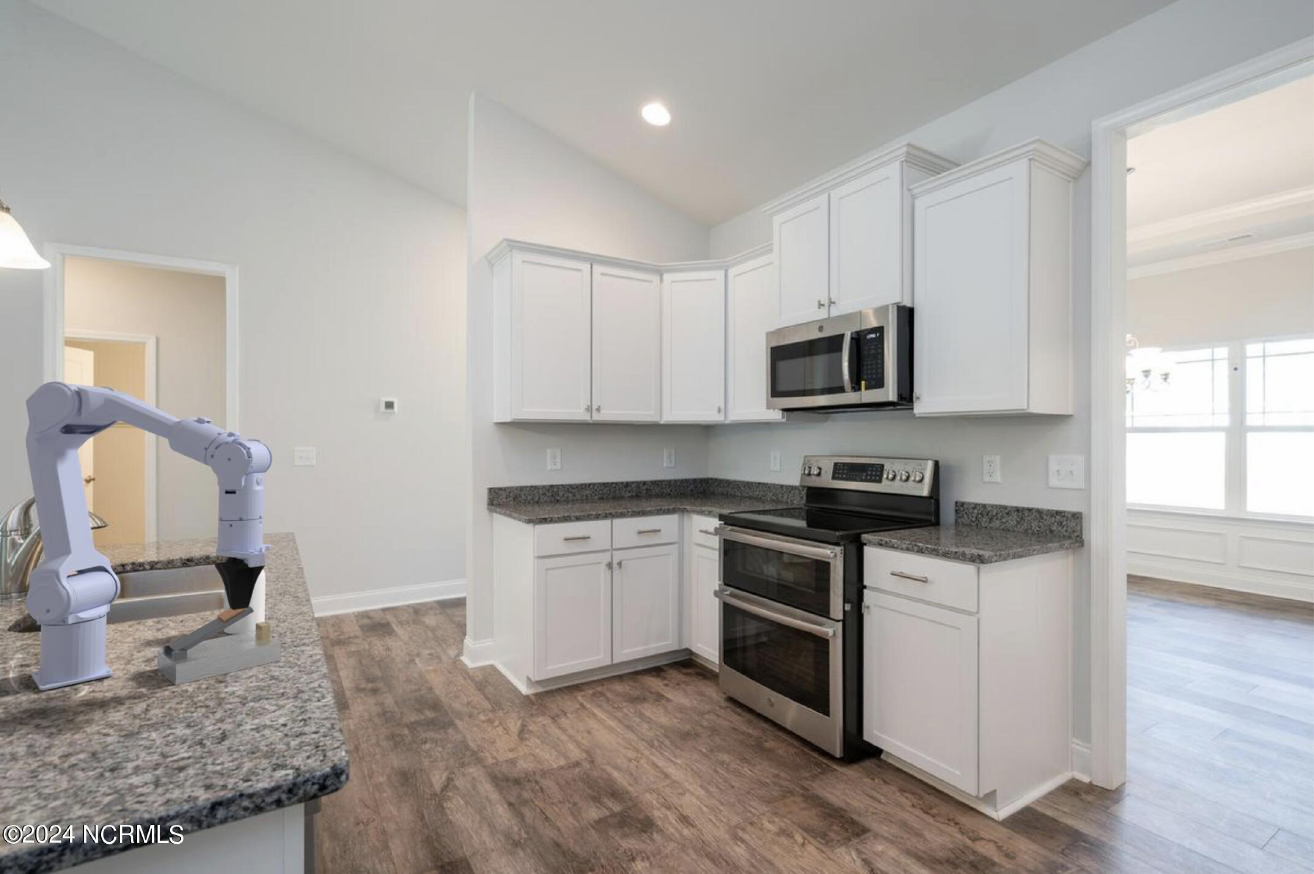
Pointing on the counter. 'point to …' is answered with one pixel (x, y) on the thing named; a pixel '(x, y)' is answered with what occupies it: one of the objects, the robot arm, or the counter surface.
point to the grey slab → (211, 628)
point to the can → (257, 605)
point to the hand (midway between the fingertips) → (239, 608)
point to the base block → (219, 655)
